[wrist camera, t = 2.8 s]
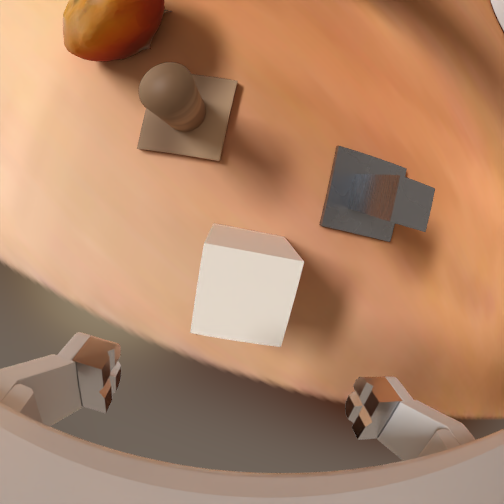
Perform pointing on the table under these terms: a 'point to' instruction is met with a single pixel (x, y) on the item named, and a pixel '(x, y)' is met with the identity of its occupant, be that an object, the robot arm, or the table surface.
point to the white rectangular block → (245, 286)
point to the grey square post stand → (373, 196)
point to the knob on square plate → (184, 111)
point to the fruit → (110, 27)
